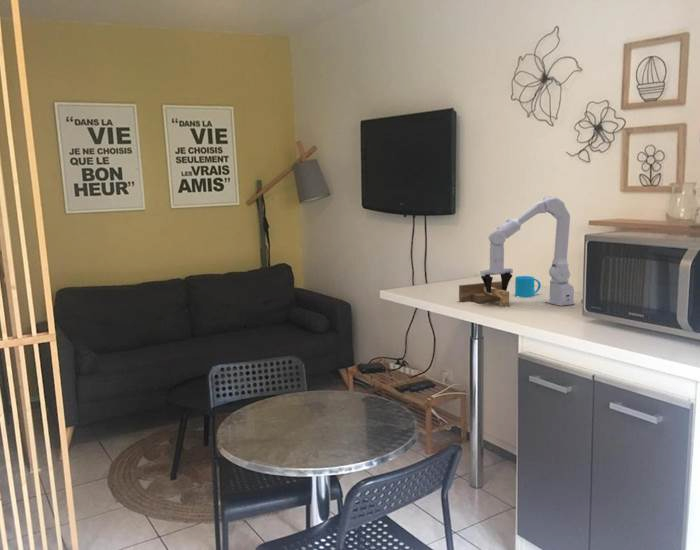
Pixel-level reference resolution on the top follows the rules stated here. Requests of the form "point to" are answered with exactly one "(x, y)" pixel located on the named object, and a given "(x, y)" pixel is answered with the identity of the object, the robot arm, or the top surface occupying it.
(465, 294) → the stepped wooden block
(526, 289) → the mug
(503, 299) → the rail
